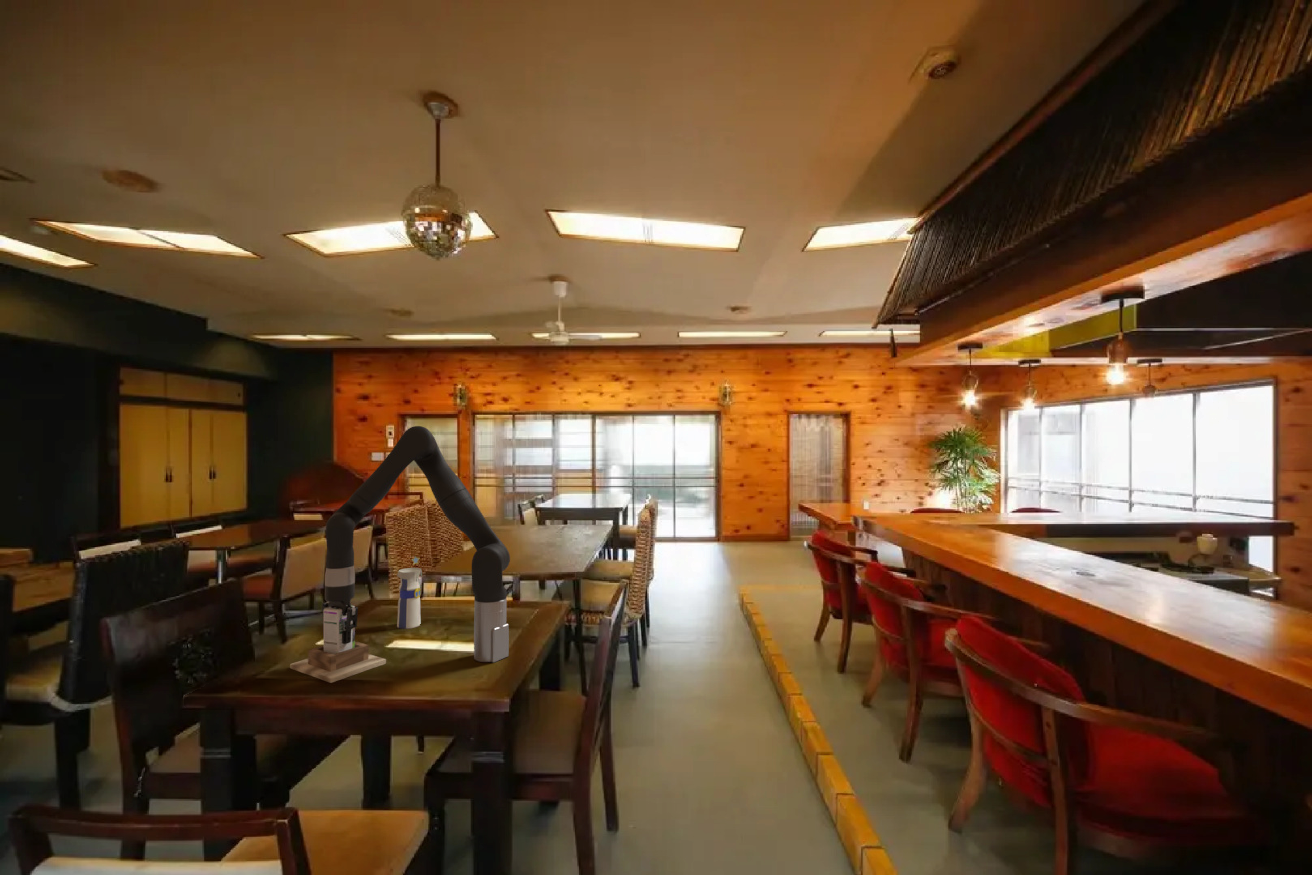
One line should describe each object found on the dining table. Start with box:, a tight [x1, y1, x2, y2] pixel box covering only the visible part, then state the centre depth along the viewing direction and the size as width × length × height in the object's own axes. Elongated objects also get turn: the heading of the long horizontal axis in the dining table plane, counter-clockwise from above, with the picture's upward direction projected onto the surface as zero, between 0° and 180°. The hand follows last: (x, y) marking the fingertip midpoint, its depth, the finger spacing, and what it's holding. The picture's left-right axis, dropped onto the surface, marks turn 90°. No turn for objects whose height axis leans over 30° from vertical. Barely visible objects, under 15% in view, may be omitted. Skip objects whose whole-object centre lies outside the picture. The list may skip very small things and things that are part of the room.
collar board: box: [289, 641, 387, 684], centre depth 163 cm, size 20×16×5 cm
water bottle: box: [396, 555, 423, 629], centre depth 201 cm, size 8×9×25 cm
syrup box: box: [323, 604, 356, 654], centre depth 163 cm, size 6×6×14 cm
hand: (339, 641), depth 163 cm, fingers closed on syrup box, 6 cm apart
